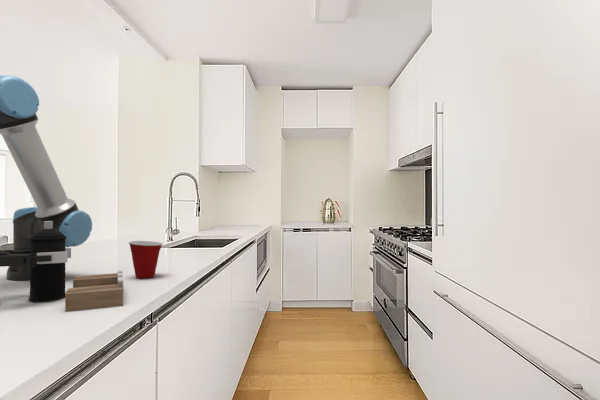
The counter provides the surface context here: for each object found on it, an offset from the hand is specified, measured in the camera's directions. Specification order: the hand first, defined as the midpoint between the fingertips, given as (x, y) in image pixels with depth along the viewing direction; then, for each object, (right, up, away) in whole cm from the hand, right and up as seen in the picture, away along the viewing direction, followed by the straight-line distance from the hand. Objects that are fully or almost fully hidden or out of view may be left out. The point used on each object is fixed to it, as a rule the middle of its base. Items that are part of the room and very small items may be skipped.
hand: (69, 254), depth 104 cm
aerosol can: (-4, -11, -2) cm, 12 cm away
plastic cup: (+10, -11, +27) cm, 31 cm away
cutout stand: (+8, -11, -1) cm, 14 cm away
